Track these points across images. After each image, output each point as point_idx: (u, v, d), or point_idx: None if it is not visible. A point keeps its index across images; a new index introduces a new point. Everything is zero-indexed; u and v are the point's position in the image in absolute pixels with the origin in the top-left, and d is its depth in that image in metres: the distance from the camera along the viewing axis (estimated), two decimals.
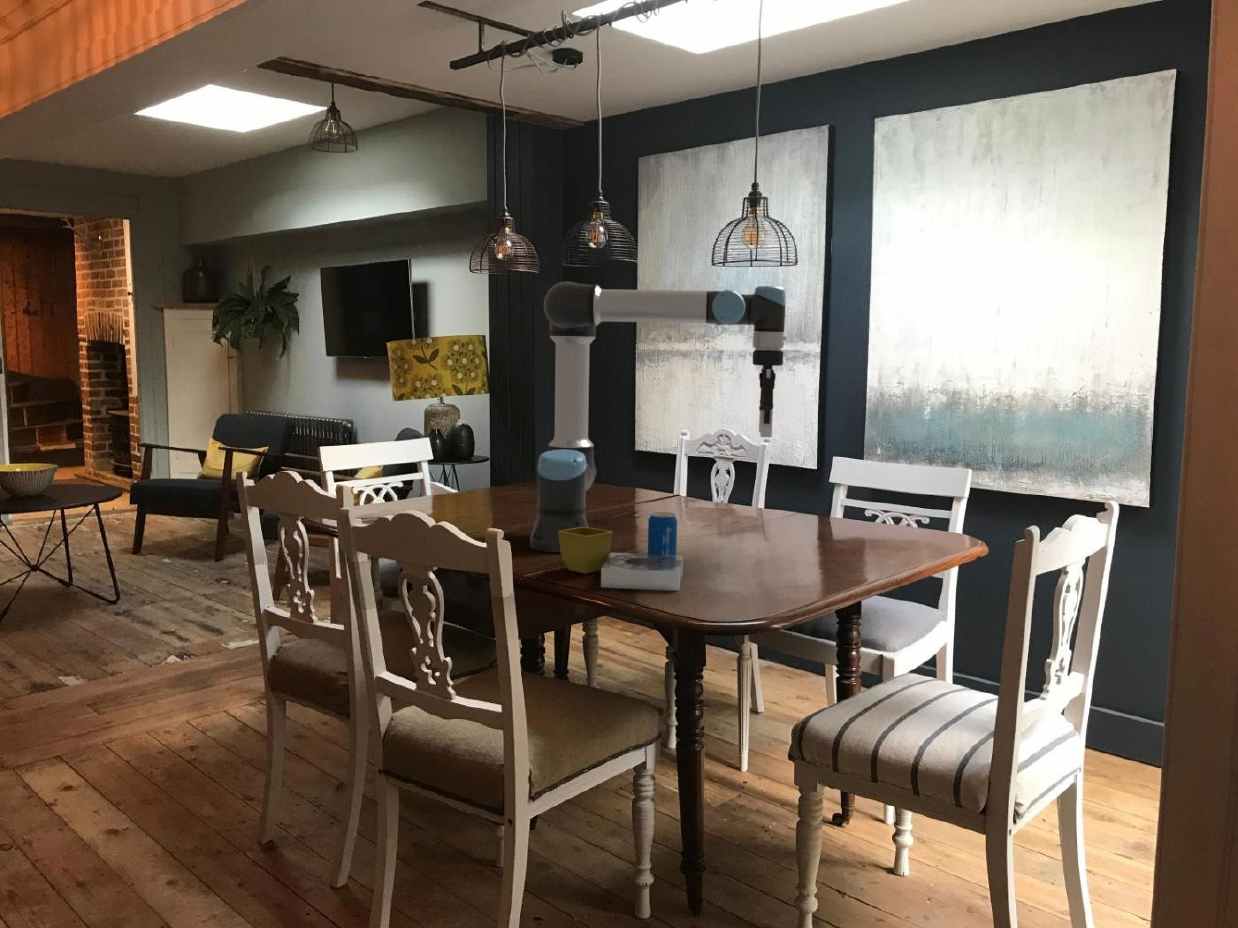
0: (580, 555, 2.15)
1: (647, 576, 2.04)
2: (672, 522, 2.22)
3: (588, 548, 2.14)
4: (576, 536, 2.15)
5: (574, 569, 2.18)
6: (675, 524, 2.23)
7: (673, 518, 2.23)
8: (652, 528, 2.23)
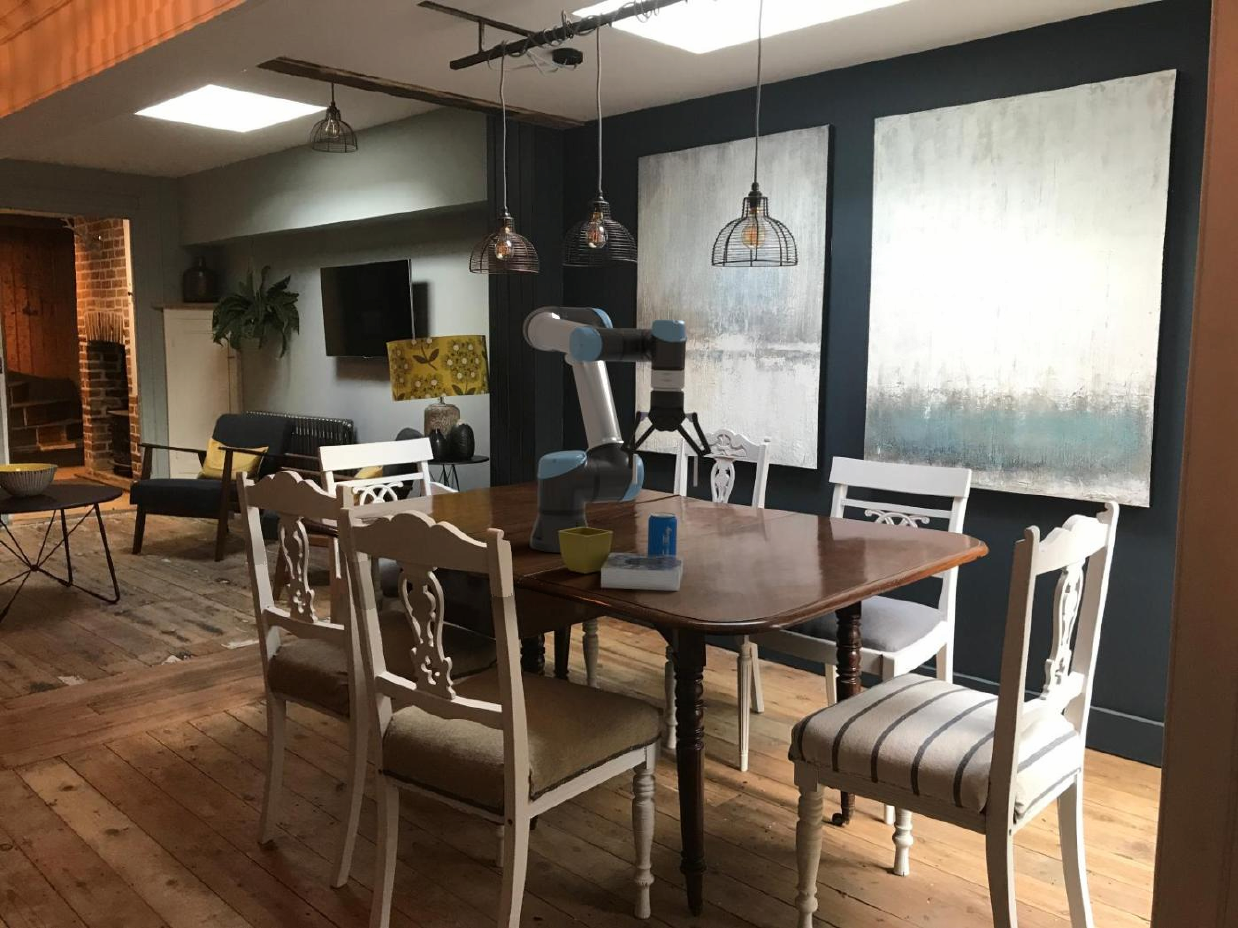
0: (580, 555, 2.15)
1: (647, 576, 2.04)
2: (672, 522, 2.22)
3: (588, 548, 2.14)
4: (576, 536, 2.15)
5: (574, 569, 2.18)
6: (675, 524, 2.23)
7: (673, 518, 2.23)
8: (652, 528, 2.23)
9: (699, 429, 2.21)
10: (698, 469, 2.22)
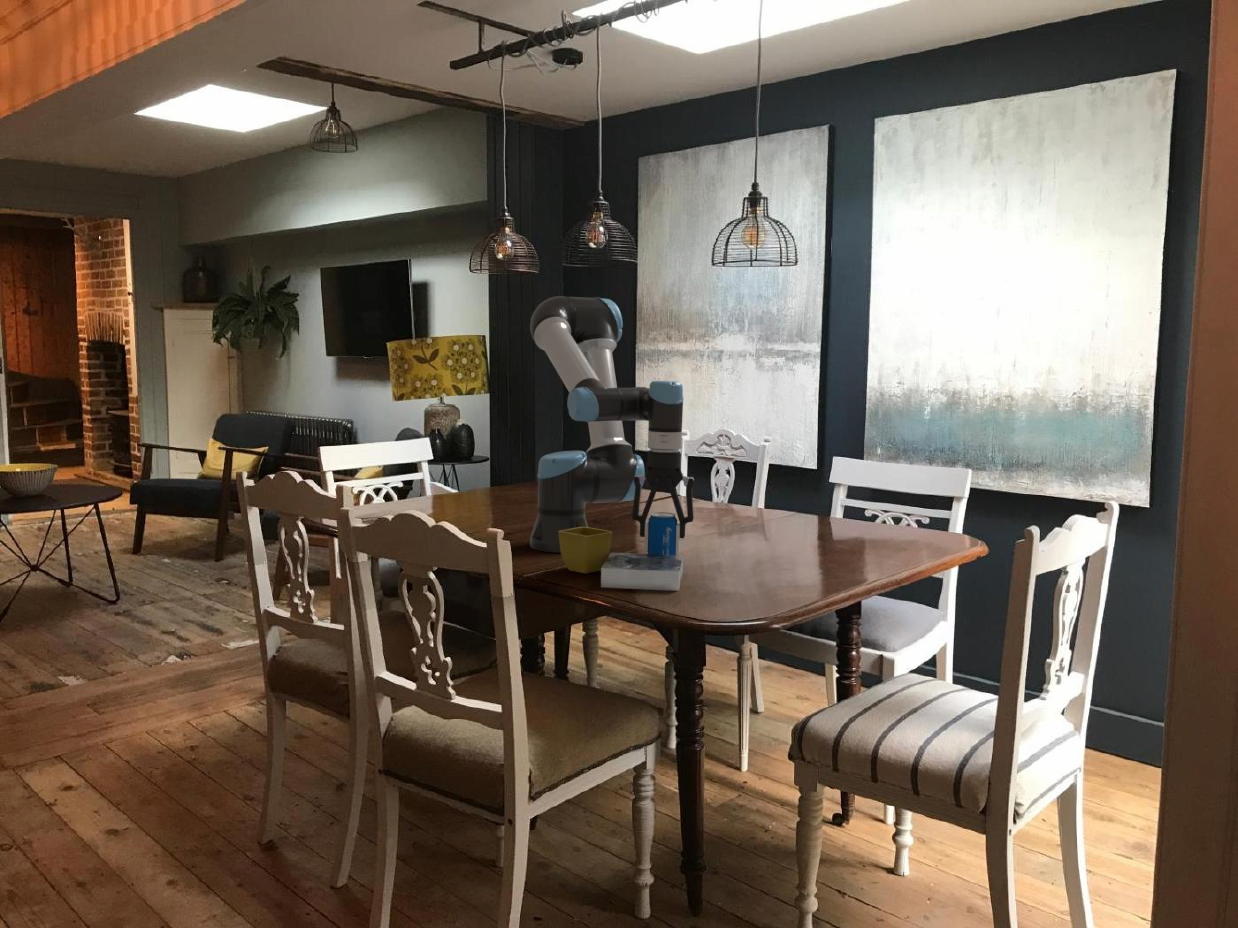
0: (580, 555, 2.15)
1: (647, 576, 2.04)
2: (672, 522, 2.22)
3: (588, 548, 2.14)
4: (576, 536, 2.15)
5: (574, 569, 2.18)
6: (675, 524, 2.23)
7: (673, 518, 2.23)
8: (652, 528, 2.23)
9: (690, 496, 2.22)
10: (680, 536, 2.24)
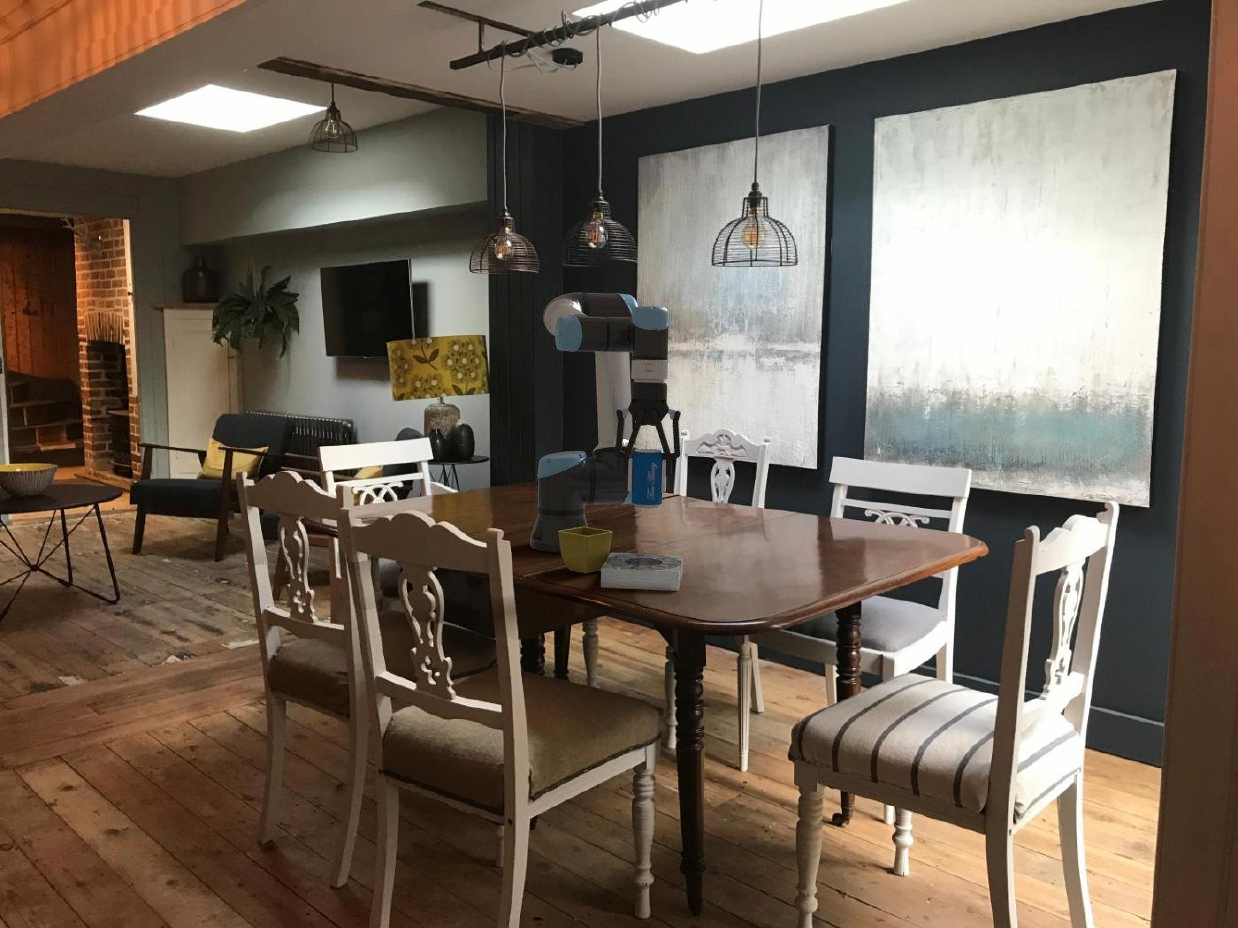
0: (580, 555, 2.15)
1: (647, 576, 2.04)
2: (657, 458, 2.08)
3: (588, 548, 2.14)
4: (576, 536, 2.15)
5: (574, 569, 2.18)
6: (661, 460, 2.09)
7: (659, 454, 2.08)
8: (636, 464, 2.08)
9: (676, 429, 2.08)
10: (666, 474, 2.09)
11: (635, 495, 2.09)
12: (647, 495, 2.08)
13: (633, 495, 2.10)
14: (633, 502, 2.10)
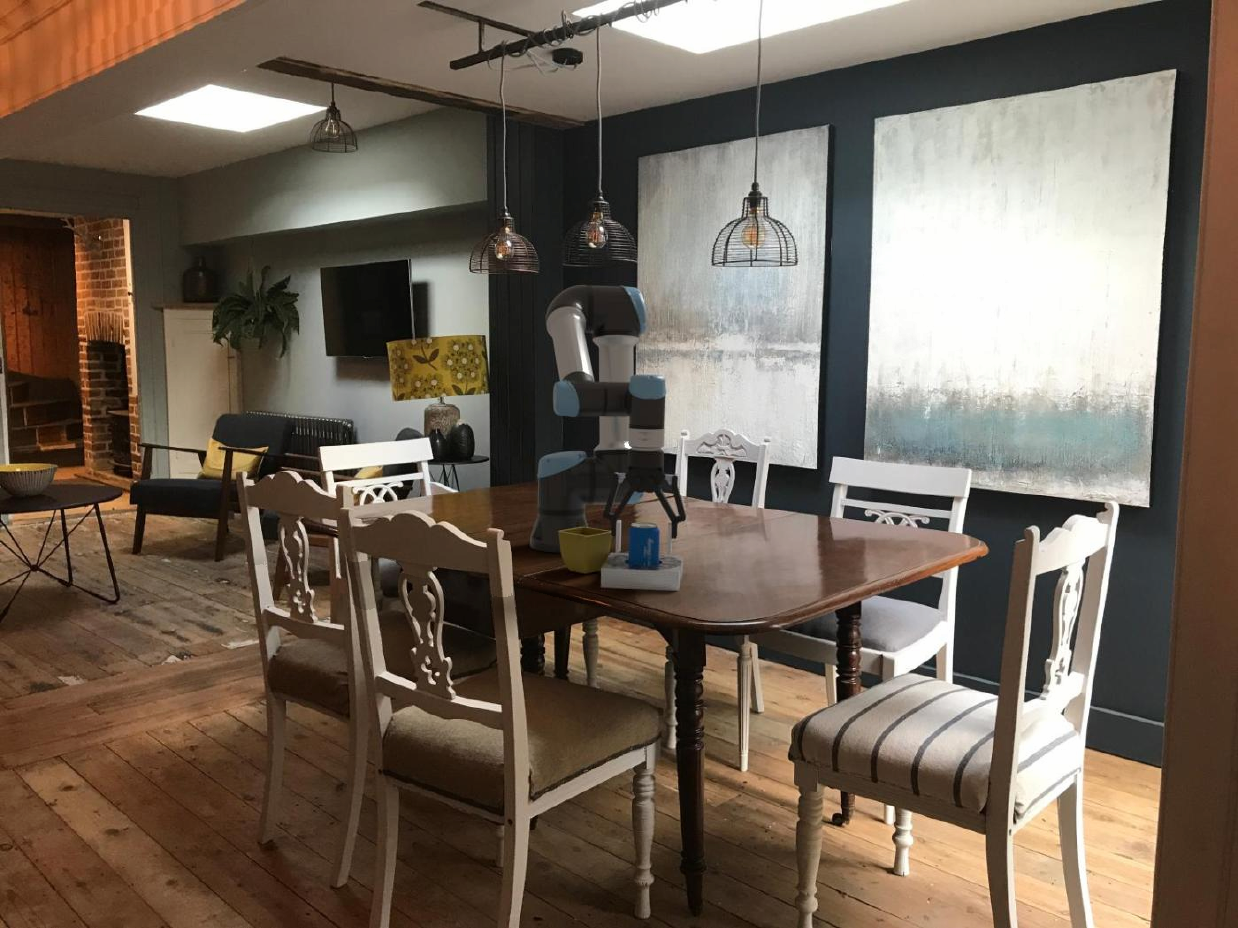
0: (580, 555, 2.15)
1: (647, 576, 2.04)
2: (653, 533, 2.09)
3: (588, 548, 2.14)
4: (576, 536, 2.15)
5: (574, 569, 2.18)
6: (657, 535, 2.10)
7: (655, 529, 2.10)
8: (632, 539, 2.09)
9: (677, 494, 2.08)
10: (672, 537, 2.10)
11: None
12: None
13: None
14: None
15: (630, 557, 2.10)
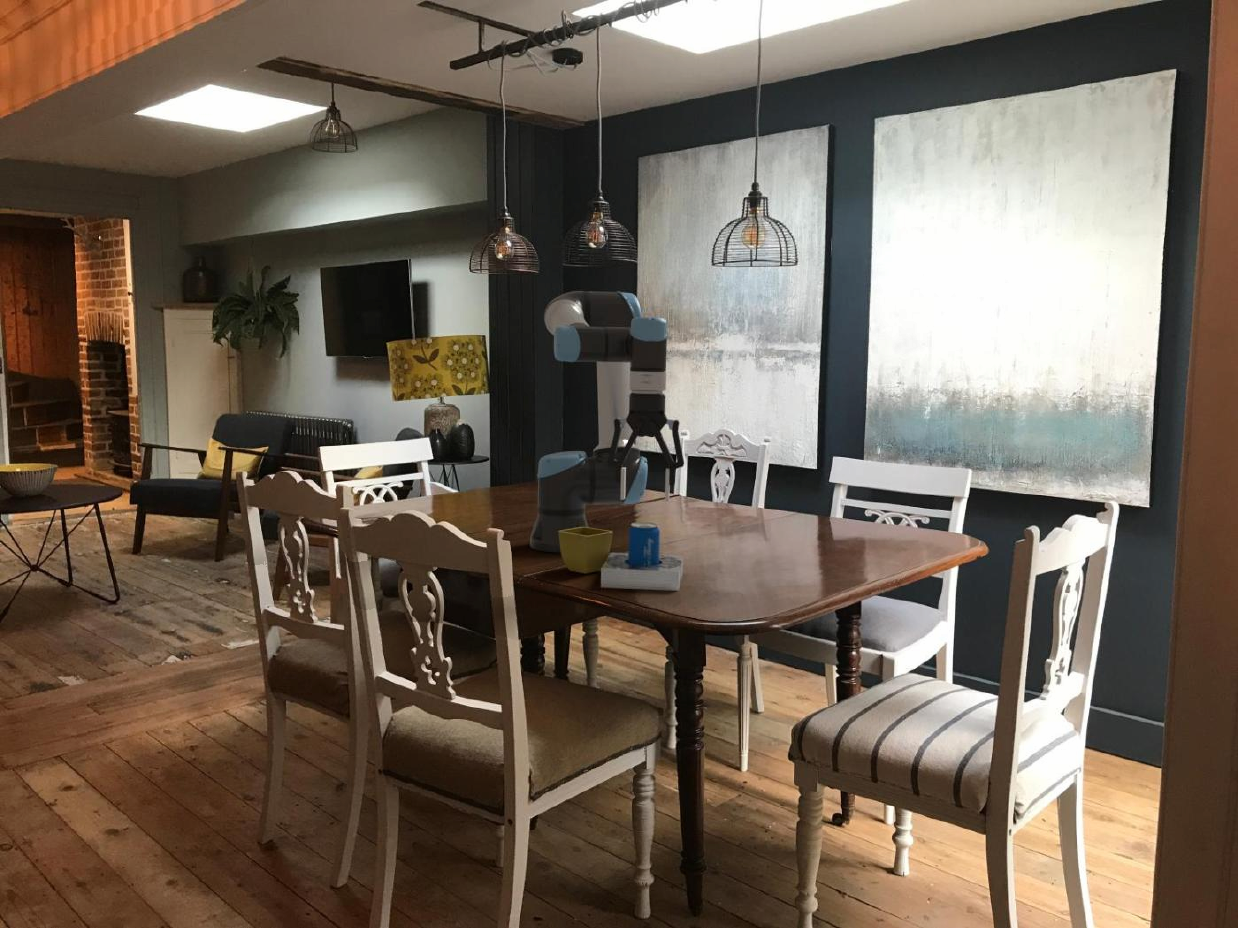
0: (580, 555, 2.15)
1: (647, 576, 2.04)
2: (653, 533, 2.09)
3: (588, 548, 2.14)
4: (576, 536, 2.15)
5: (574, 569, 2.18)
6: (657, 535, 2.10)
7: (655, 529, 2.10)
8: (632, 539, 2.09)
9: (677, 439, 2.07)
10: (670, 483, 2.09)
11: None
12: None
13: None
14: None
15: (630, 557, 2.10)
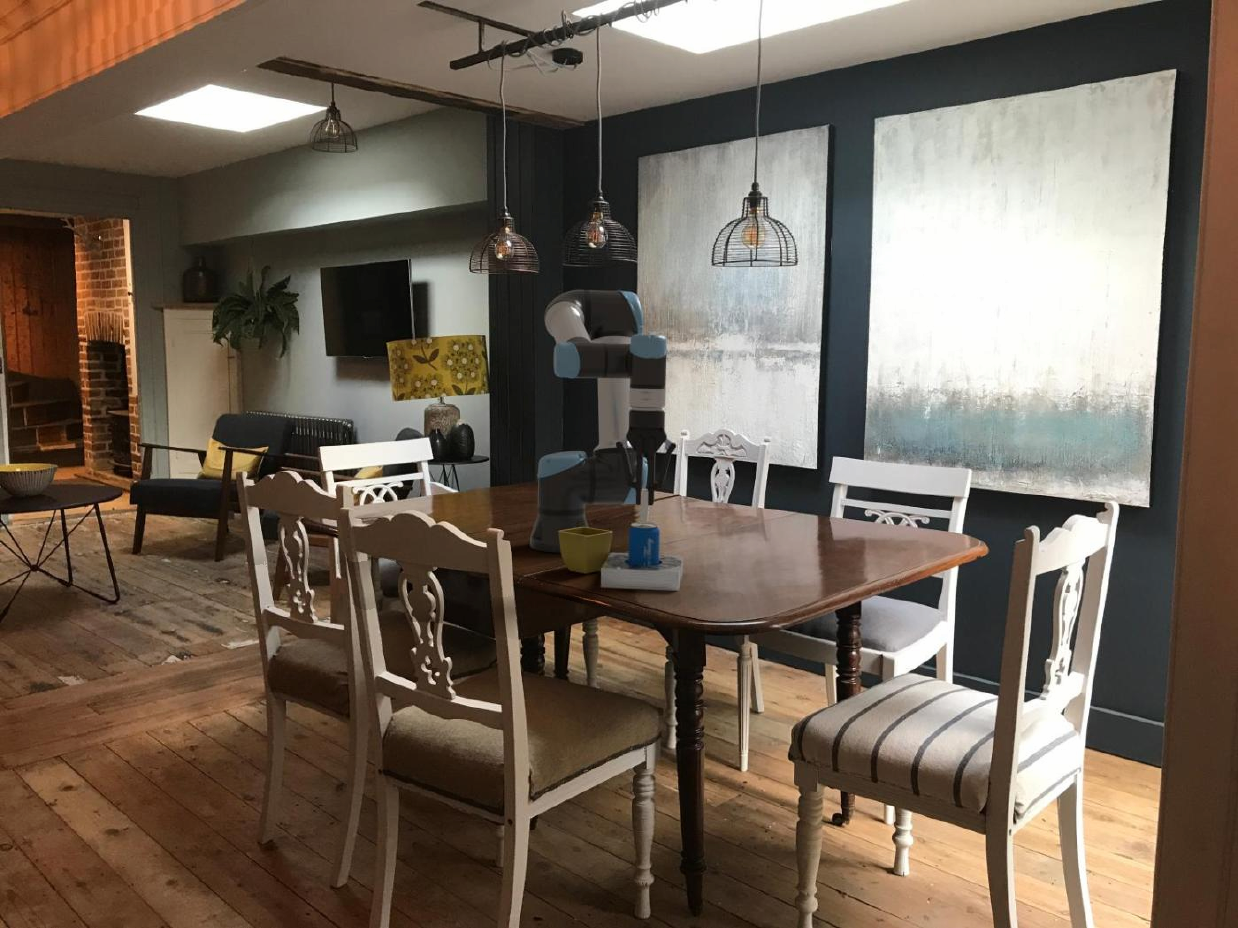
0: (580, 555, 2.15)
1: (647, 576, 2.04)
2: (653, 533, 2.09)
3: (588, 548, 2.14)
4: (576, 536, 2.15)
5: (574, 569, 2.18)
6: (657, 535, 2.10)
7: (655, 529, 2.10)
8: (632, 539, 2.09)
9: (667, 461, 2.08)
10: (649, 503, 2.10)
11: None
12: None
13: None
14: None
15: (630, 557, 2.10)
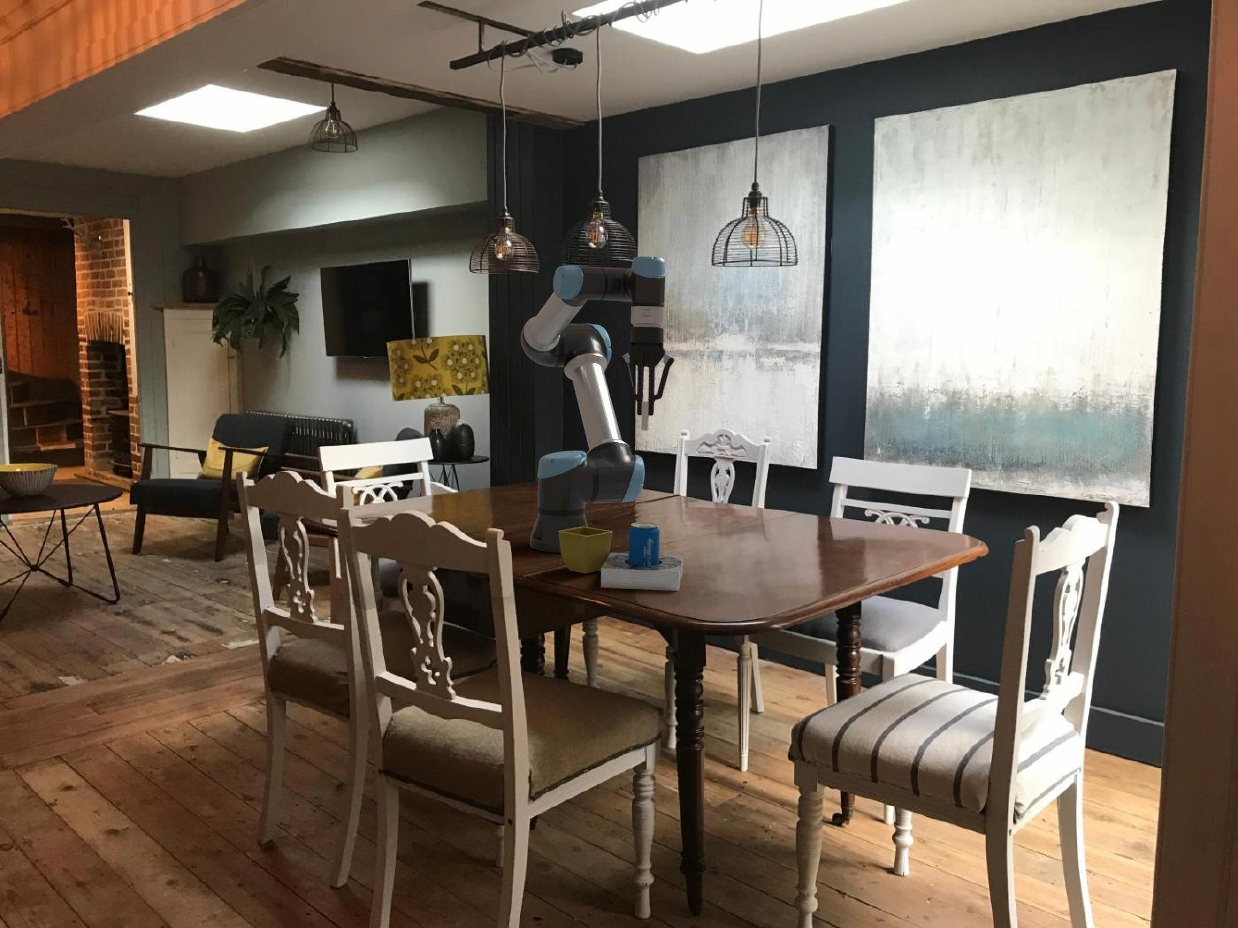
0: (580, 555, 2.15)
1: (647, 576, 2.04)
2: (653, 533, 2.09)
3: (588, 548, 2.14)
4: (576, 536, 2.15)
5: (574, 569, 2.18)
6: (657, 535, 2.10)
7: (655, 529, 2.10)
8: (632, 539, 2.09)
9: (666, 374, 2.26)
10: (649, 414, 2.28)
11: None
12: None
13: None
14: None
15: (630, 557, 2.10)
